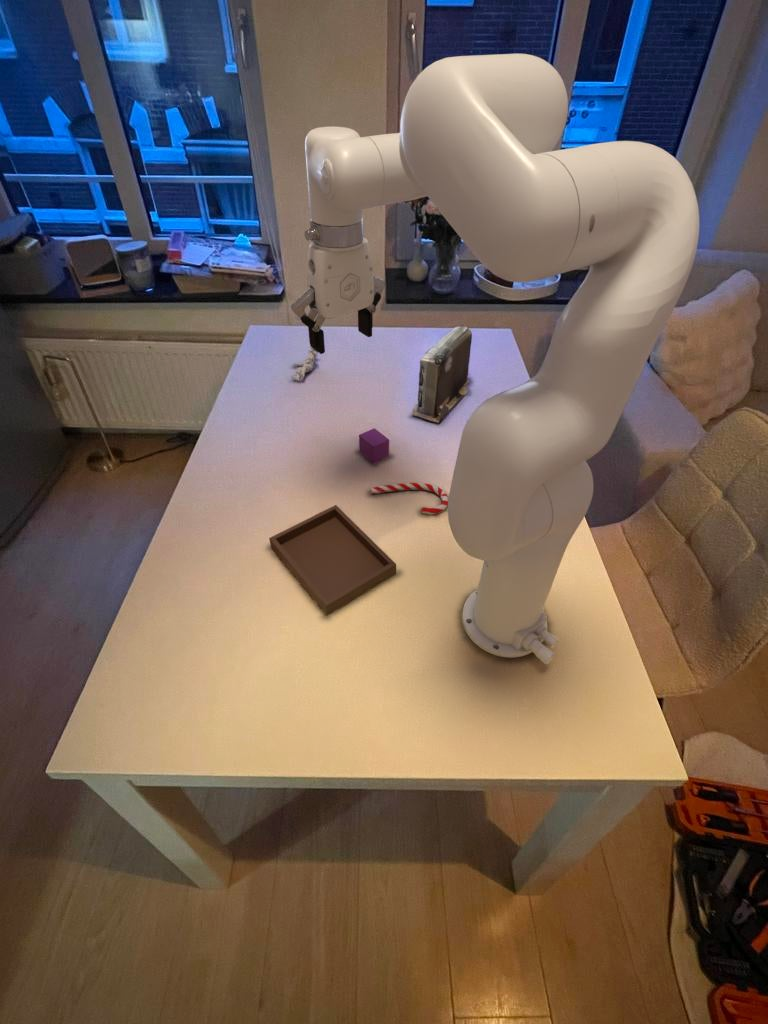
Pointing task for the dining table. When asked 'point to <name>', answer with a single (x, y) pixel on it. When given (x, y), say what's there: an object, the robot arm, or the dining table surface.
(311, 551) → the tray
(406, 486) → the candy cane
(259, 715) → the dining table surface
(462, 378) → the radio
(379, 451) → the cube
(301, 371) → the soldier figure
